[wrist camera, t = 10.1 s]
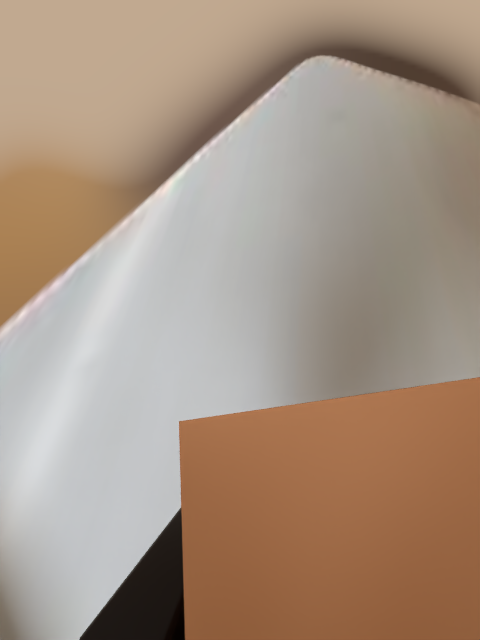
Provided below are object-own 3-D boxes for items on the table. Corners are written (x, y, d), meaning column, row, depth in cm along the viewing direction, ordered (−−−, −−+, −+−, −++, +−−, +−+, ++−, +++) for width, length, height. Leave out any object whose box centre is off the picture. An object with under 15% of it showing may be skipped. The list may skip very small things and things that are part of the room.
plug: (361, 478, 13) (488, 376, 5) (397, 619, 11) (742, 896, 3) (251, 493, 13) (178, 421, 5) (267, 634, 11) (193, 940, 3)
